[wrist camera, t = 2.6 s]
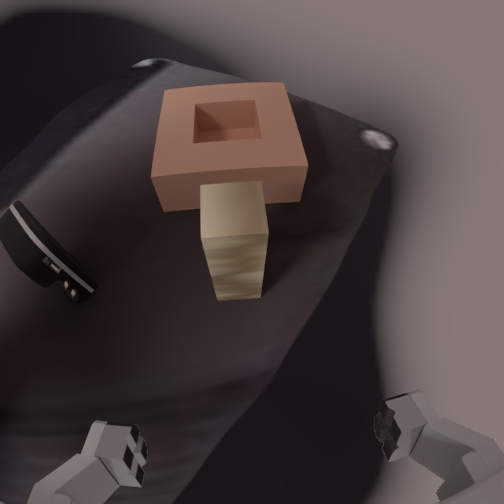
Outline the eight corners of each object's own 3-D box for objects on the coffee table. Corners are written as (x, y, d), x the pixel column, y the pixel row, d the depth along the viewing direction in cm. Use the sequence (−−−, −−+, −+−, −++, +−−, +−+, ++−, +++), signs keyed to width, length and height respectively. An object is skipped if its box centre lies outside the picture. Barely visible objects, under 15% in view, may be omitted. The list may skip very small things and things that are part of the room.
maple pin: (217, 300, 29) (200, 238, 18) (215, 262, 31) (200, 185, 20) (260, 297, 29) (268, 232, 19) (256, 259, 31) (261, 180, 20)
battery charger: (45, 274, 30) (-15, 223, 19) (66, 250, 31) (12, 192, 21) (77, 314, 28) (11, 269, 18) (100, 287, 29) (42, 232, 19)
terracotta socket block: (163, 212, 33) (150, 177, 28) (172, 124, 40) (165, 90, 35) (299, 201, 34) (308, 165, 29) (279, 116, 41) (283, 82, 36)
